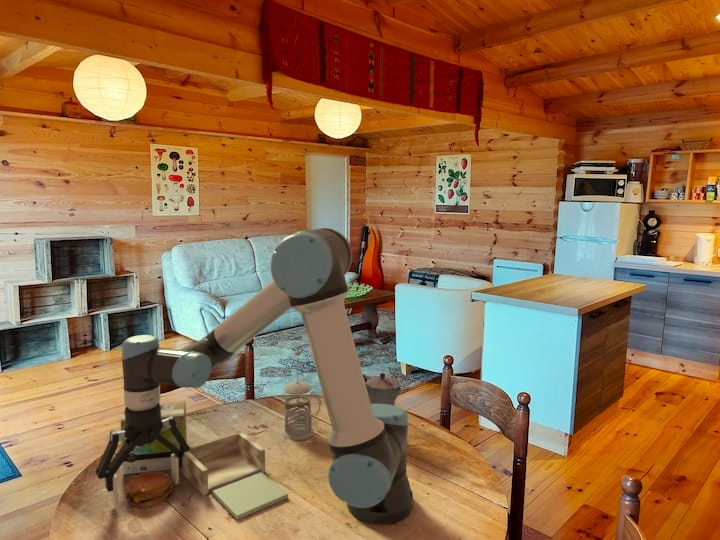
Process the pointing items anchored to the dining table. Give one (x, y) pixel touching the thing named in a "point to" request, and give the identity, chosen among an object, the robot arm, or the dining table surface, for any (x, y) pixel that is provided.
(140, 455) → the tea box
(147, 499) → the burger
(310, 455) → the dining table surface
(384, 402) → the moka pot
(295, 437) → the french press
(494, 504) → the dining table surface
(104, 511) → the dining table surface
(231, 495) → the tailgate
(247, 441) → the crate
